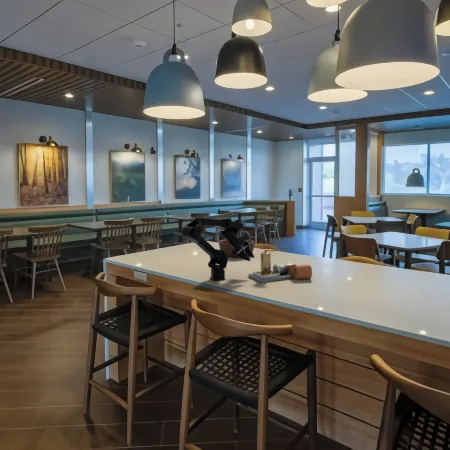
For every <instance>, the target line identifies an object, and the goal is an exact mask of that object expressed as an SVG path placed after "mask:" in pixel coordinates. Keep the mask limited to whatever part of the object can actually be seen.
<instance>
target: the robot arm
mask: <svg viewBox="0 0 450 450" xmlns="http://www.w3.org/2000/svg"><path fill="white" fill-rule="evenodd" d="M204 226H211V227H212V226H213V227H216V228H219V229H223V230H220V231H219V233H218V237H219V238H221V237H223V238H224V240H227V241H228V242H229V245H232V246H233V247H234V249H233V250H232V254H233V255H234V256H235V255H236V254H237V255H236V256H237V257H240V258H239V259H242V260H245V261H247V262H251V258H252V259H254V258H255V255H254V253H253V252H252V251H251V249H250V242H249V241H248V240H252V235H251V233H250V232H247V231H246V232H244V233H243V235H242V236H241V235H238V234H239V233H240V232H241V231H243V230H244V224H243V223H242V222H241V221H240V219H234V221H233V220H232V218H230V217H217V218H210V217H209V218H208V217H207V218H206V217H202V216H196V217H195V218H194V219H193V220H192V221H190V222H188V224H186V225H185V226H184V227H183V228H182V231H181V236H182V237H183V238H184V239H186V240H188V241H190V242H192V243H194V244H196V246H198V247H199V248H200V249H201V250H202V251H203V252H205V253H206V254H207V255H208V256H209V261H208V263H207V265H208V268H210V277H209V279H210V280H212V281H214V282H217V281H225V280H226V274H225V273H226V271H225V269H226V268H227V265H228V261H229V260H228V259H229V257H227V255H226V253H224V251H223V250H220V249H217V248H215V247H214V246H213V245H212V244H211V243H209V242H208V241H207V240H206V239H205V238H204V237H203V236H202V232H203V230H204V229H203V228H204ZM248 256H249V257H248Z"/></svg>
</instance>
